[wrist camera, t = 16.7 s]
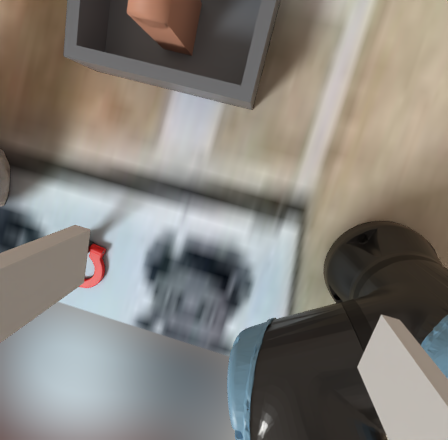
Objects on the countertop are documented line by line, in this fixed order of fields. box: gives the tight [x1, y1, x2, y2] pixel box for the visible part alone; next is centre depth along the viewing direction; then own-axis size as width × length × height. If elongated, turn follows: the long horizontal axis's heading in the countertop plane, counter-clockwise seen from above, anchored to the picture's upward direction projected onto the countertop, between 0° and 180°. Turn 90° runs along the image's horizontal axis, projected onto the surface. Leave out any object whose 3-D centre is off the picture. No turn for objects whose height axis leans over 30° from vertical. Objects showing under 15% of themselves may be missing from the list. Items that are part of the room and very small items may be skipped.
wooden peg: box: [127, 0, 202, 56], centre depth 30 cm, size 4×6×12 cm, turn 166°
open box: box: [64, 0, 280, 110], centre depth 34 cm, size 23×15×7 cm, turn 77°
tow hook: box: [79, 241, 106, 288], centre depth 43 cm, size 8×13×9 cm
